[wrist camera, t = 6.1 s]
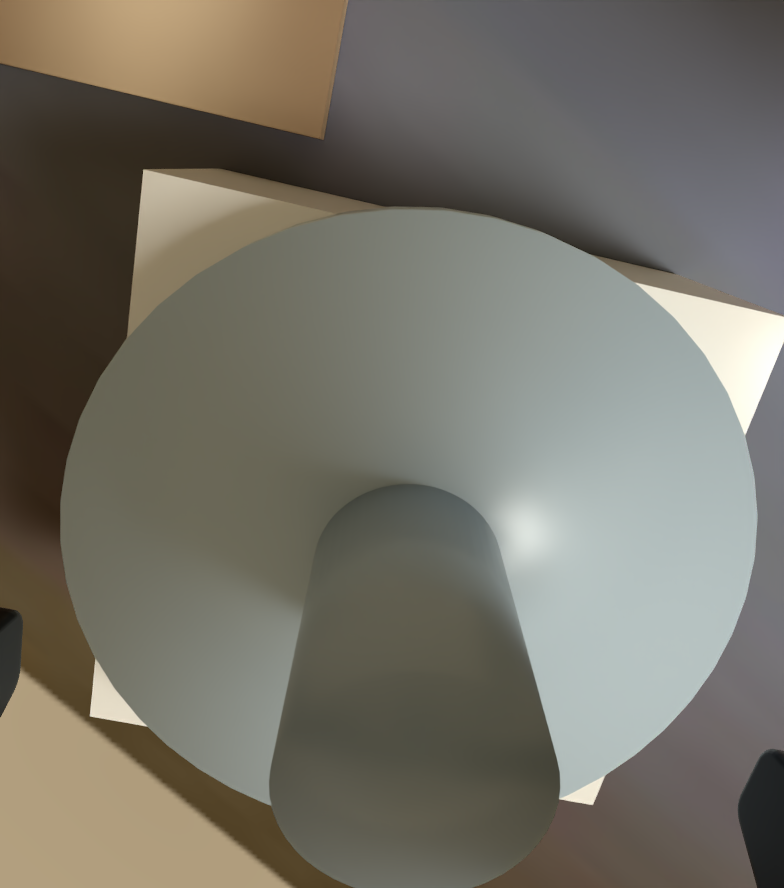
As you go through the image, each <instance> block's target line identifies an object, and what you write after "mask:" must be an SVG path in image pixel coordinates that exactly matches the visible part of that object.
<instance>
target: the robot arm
mask: <svg viewBox="0 0 784 888" xmlns="http://www.w3.org/2000/svg"><path fill="white" fill-rule="evenodd" d="M22 630H23V620H22V616H21V614H20V613H19V612H18V611H16V610H12V609H7V608H1V607H0V717H1V715H2V713H3V712H4V710H5V708H6V706H7V703H8V702H9V700H10V698H11V696H12V694H13V692H14V690H15V688H16V685H17V682H18V678H19V674H20V666H21V648H22ZM738 817H739V822H740V826H741V830H742V833H743V837H744V841H745V844H746V848H747V851H748V855H749V859H750V862H751V866H752V870H753V873H754V877H755V880H756V884H757V888H784V751H781V750H776V749H770V750H766V751H765V752H764V753H762V754H761V756H760V757H759V759H758V761H757V763H756V765H755V767H754V769H753V771H752V773H751V775H750V777H749V779H748V781H747V783H746V786H745V788H744V790H743V792H742V794H741V796H740V798H739V803H738Z"/></svg>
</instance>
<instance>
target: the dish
mask: <svg viewBox="0 0 784 888" xmlns="http://www.w3.org/2000/svg"><path fill="white" fill-rule="evenodd" d="M383 207H384V206H379V205H375V204H371V203H366V202H362V201H358V200H353V199H349V198H345V197H341V196H336V195H332V194H328V193H323V192H319V191H315V190H310V189H306V188H302V187H297V186H293V185H289V184H285V183H280V182H276V181H272V180H267V179H263V178H259V177H254V176H250V175H246V174H241V173H237V172H233V171H228V170H224V169H143V179H142V189H141V200H140V210H139V220H138V230H137V241H136V251H135V261H134V271H133V281H132V292H131V302H130V312H129V322H128V332H127V338H128V337H129V336H130V335H131V334H132V333H133V331H134V330H135V329H136V328H137V327H138V326H139V325H140V324H141V323H142V322H143V321H144V320H145V319H146V318H147V316H148V315H149V314H150V313H151V312H152V311H153V310H154V309H155V308H156V307H157V306H158V305H159V304H160V303H162V302H163V301H164V300H165V299H167V298H168V297H169V296H170V295H172V294H173V293H174V292H175V291H177V290H178V289H179V288H180V287H182V286H183V285H184V284H185V283H187V282H188V281H189V280H190V279H192V278H193V277H194V276H195V275H197V274H198V273H200V272H202V271H204V270H205V269H207V268H209V267H210V266H212V265H214V264H216V263H217V262H219V261H221V260H222V259H224V258H226V257H227V256H229V255H231V254H233V253H234V252H236V251H238V250H239V249H241V248H243V247H245V246H247V245H249V244H251V243H252V242H255V241H257V240H260V239H262V238H264V237H267V236H269V235H272V234H274V233H277V232H279V231H281V230H284V229H286V228H289V227H291V226H294V225H296V224H299V223H303V222H307V221H311V220H315V219H319V218H323V217H326V216H330V215H334V214H338V213H342V212H348V211H357V210H365V209H374V208H383ZM592 256H594V257H596V258H598V259H599V260H601V261H602V262H604V263H605V264H607V265H608V266H610V267H611V268H613V269H614V270H616V271H617V272H619V273H620V274H622V275H624V276H625V277H627V278H628V279H630V280H631V281H633V282H634V283H636V284H637V285H638V286H640V287H641V288H642V289H643V290H644V291H645V292H646V293H647V294H649V295H650V296H651V297H652V298H653V299H654V300H655V301H656V302H657V303H659V304H660V305H661V306H662V307H663V308H664V309H665V310H666V311H668V312H669V313H670V314H671V315H672V316H673V317H674V318H675V319H676V320H677V321H678V323H679V324H680V325H681V326H682V327H683V329H684V330H685V331H686V332H687V334H688V335H689V336H690V337H691V338H692V340H693V341H694V342H695V343H696V344H697V346H698V347H699V348H700V349H701V350H702V352H703V353H704V354H705V356H706V358H707V359H708V361H709V363H710V364H711V366H712V368H713V369H714V371H715V373H716V374H717V376H718V378H719V379H720V381H721V383H722V384H723V386H724V388H725V389H726V391H727V393H728V395H729V397H730V400H731V402H732V405H733V407H734V410H735V412H736V415H737V417H738V420H739V422H740V424H741V427H742V429H743V432H744V435H745V434H746V432H747V430H748V427H749V425H750V422H751V420H752V417H753V415H754V413H755V410H756V408H757V405H758V403H759V400H760V398H761V396H762V393H763V391H764V388H765V386H766V383H767V381H768V379H769V376H770V374H771V371H772V369H773V366H774V364H775V362H776V359H777V357H778V354H779V352H780V349H781V347H782V345H783V342H784V315H781V314H779V313H776V312H774V311H771V310H768V309H766V308H763V307H761V306H758V305H755V304H753V303H750V302H747V301H745V300H742V299H740V298H737V297H734V296H732V295H729V294H727V293H724V292H721V291H719V290H716V289H714V288H711V287H708V286H706V285H703V284H700V283H698V282H695V281H693V280H690V279H687V278H685V277H682V276H680V275H677V274H672V273H668V272H664V271H659V270H655V269H651V268H646V267H642V266H638V265H634V264H629V263H625V262H621V261H616V260H612V259H608V258H603V257H599V256H595V255H592ZM90 716H91V717H97V718H103V719H108V720H114V721H120V722H125V723H131V724H137V725H142V726H147V725H146V724H144V723H143V722H142V721H141V720H140V719H139V718H138V716H137V715H136V714H135V713H134V712H133V710H132V709H131V708H130V707H129V705H128V704H127V703H126V702H125V701H124V699H123V698H122V697H121V696H120V694H119V693H118V692H117V691H116V690H115V688H114V687H113V685H112V684H111V682H110V680H109V679H108V677H107V676H106V674H105V672H104V671H103V669H102V668H101V666H100V664H99V663H98V661H97V660H95V670H94V680H93V690H92V700H91V711H90ZM604 777H605V776H603V777H601V778H600V779H598V780H596V781H594V782H592V783H590V784H588V785H586V786H584V787H583V788H581V789H579V790H577V791H575V792H573V793H571V794H569V795H567V796H565V797H562V798H560V799H562V800H567V801H573V802H579V803H584V804H590V805H593V803H594V801H595V798H596V796H597V794H598V791H599V789H600V786H601V784H602V781H603V779H604Z"/></svg>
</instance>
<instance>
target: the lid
mask: <svg viewBox="0 0 784 888" xmlns="http://www.w3.org/2000/svg"><path fill="white" fill-rule="evenodd" d="M756 531H757V505H756V492H755V480H754V473H753V468H752V464H751V460H750V456H749V452H748V447H747V443H746V439H745V435H744V432H743V429H742V427H741V424H740V422H739V420H738V417H737V415H736V412H735V410H734V407H733V405H732V402H731V400H730V397H729V395H728V393H727V391H726V389H725V388H724V386H723V384H722V383H721V381H720V379H719V378H718V376H717V374H716V373H715V371H714V369H713V368H712V366H711V364H710V363H709V361H708V359H707V358H706V356H705V354H704V353H703V352H702V350H701V349H700V348H699V347H698V346H697V344H696V343H695V342H694V341H693V340H692V338H691V337H690V336H689V335H688V334H687V332H686V331H685V330H684V329H683V327H682V326H681V325H680V324H679V323H678V321H677V320H676V319H675V318H674V317H673V316H672V315H671V314H670V313H669V312H668V311H666V310H665V309H664V308H663V307H662V306H661V305H660V304H659V303H657V302H656V301H655V300H654V299H653V298H652V297H651V296H650V295H649V294H647V293H646V292H645V291H644V290H643V289H642V288H641V287H640V286H638V285H637V284H636V283H634V282H633V281H631V280H630V279H628V278H627V277H625V276H624V275H622V274H620V273H619V272H617V271H616V270H614V269H613V268H611V267H610V266H608V265H607V264H605V263H604V262H602V261H601V260H599V259H598V258H596V257H594V256H592V255H590V254H588V253H586V252H584V251H581V250H579V249H577V248H575V247H573V246H571V245H569V244H567V243H565V242H562V241H560V240H558V239H556V238H554V237H552V236H550V235H547V234H545V233H543V232H541V231H538V230H536V229H533V228H530V227H526V226H523V225H520V224H517V223H514V222H510V221H507V220H504V219H501V218H497V217H494V216H491V215H485V214H479V213H473V212H467V211H461V210H455V209H448V208H442V207H400V206H392V207H383V208H374V209H365V210H357V211H348V212H342V213H338V214H334V215H330V216H326V217H323V218H319V219H315V220H311V221H307V222H303V223H299V224H296V225H294V226H291V227H289V228H286V229H284V230H281V231H279V232H277V233H274V234H272V235H269V236H267V237H264V238H262V239H260V240H257V241H255V242H252V243H251V244H249V245H247V246H245V247H243V248H241V249H239V250H238V251H236V252H234V253H233V254H231V255H229V256H227V257H226V258H224V259H222V260H221V261H219V262H217V263H216V264H214V265H212V266H210V267H209V268H207V269H205V270H204V271H202V272H200V273H198V274H197V275H195V276H194V277H193V278H192V279H190V280H189V281H188V282H187V283H185V284H184V285H183V286H182V287H180V288H179V289H178V290H177V291H175V292H174V293H173V294H172V295H170V296H169V297H168V298H167V299H165V300H164V301H163V302H162V303H160V304H159V305H158V306H157V307H156V308H155V309H154V310H153V311H152V312H151V313H150V314H149V315H148V316H147V318H146V319H145V320H144V321H143V322H142V323H141V324H140V325H139V326H138V327H137V328H136V329H135V330H134V331H133V333H132V334H131V335H130V336H129V337H128V338H127V339H126V340H125V341H124V343H123V344H122V346H121V347H120V349H119V350H118V352H117V353H116V354H115V356H114V357H113V359H112V360H111V362H110V363H109V365H108V366H107V368H106V369H105V370H104V372H103V373H102V375H101V376H100V378H99V379H98V381H97V384H96V386H95V388H94V390H93V392H92V394H91V396H90V398H89V400H88V402H87V404H86V406H85V408H84V410H83V412H82V414H81V416H80V419H79V422H78V425H77V428H76V431H75V435H74V438H73V441H72V444H71V448H70V451H69V454H68V457H67V461H66V468H65V474H64V481H63V488H62V494H61V501H60V543H61V549H62V556H63V563H64V569H65V576H66V583H67V586H68V589H69V593H70V596H71V599H72V603H73V606H74V609H75V613H76V616H77V619H78V622H79V624H80V626H81V628H82V631H83V633H84V635H85V637H86V639H87V641H88V644H89V646H90V648H91V650H92V652H93V655H94V657H95V658H96V660H97V661H98V663H99V664H100V666H101V668H102V669H103V671H104V672H105V674H106V676H107V677H108V679H109V680H110V682H111V684H112V685H113V687H114V688H115V690H116V691H117V692H118V693H119V694H120V696H121V697H122V698H123V699H124V701H125V702H126V703H127V704H128V705H129V707H130V708H131V709H132V710H133V712H134V713H135V714H136V715H137V716H138V718H139V719H140V720H141V721H142V722H143V723H144V724H146V725H147V726H148V727H149V728H150V729H151V730H152V731H153V732H154V733H155V734H156V735H157V736H158V737H159V738H160V739H161V740H162V741H163V742H164V743H165V744H166V745H168V746H169V747H170V748H172V749H173V750H174V751H176V752H177V753H178V754H180V755H181V756H182V757H184V758H185V759H186V760H188V761H189V762H190V763H192V764H193V765H194V766H195V767H197V768H198V769H200V770H202V771H203V772H205V773H207V774H208V775H210V776H212V777H213V778H215V779H217V780H218V781H220V782H222V783H224V784H225V785H227V786H229V787H230V788H232V789H234V790H237V791H239V792H241V793H243V794H245V795H248V796H250V797H252V798H254V799H256V800H259V801H261V802H263V803H265V804H268V805H271V806H272V810H273V813H274V816H275V818H276V821H277V823H278V825H279V827H280V829H281V831H282V832H283V834H284V836H285V838H286V839H287V840H288V841H289V843H290V844H291V845H292V846H293V848H294V849H295V850H296V851H297V852H298V853H299V854H300V855H301V856H302V857H303V858H304V859H305V860H306V861H307V862H309V863H310V864H311V865H313V866H314V867H315V868H317V869H318V870H319V871H321V872H323V873H325V874H326V875H328V876H330V877H331V878H333V879H335V880H337V881H340V882H342V883H344V884H346V885H349V886H351V887H355V888H473V887H476V886H478V885H481V884H484V883H486V882H488V881H490V880H492V879H494V878H496V877H498V876H500V875H502V874H503V873H505V872H506V871H508V870H509V869H511V868H512V867H514V866H515V865H517V864H518V863H519V862H520V861H521V860H523V859H524V858H525V857H526V856H527V855H528V854H529V853H530V852H531V851H532V850H533V849H534V848H535V847H536V846H537V844H538V843H539V842H540V841H541V839H542V838H543V836H544V835H545V833H546V832H547V830H548V828H549V826H550V824H551V822H552V820H553V818H554V816H555V812H556V809H557V806H558V802H559V799H560V798H562V797H565V796H567V795H569V794H571V793H573V792H575V791H577V790H579V789H581V788H583V787H584V786H586V785H588V784H590V783H592V782H594V781H596V780H598V779H600V778H601V777H603V776H605V775H606V774H608V773H609V772H611V771H612V770H614V769H615V768H617V767H618V766H619V765H621V764H622V763H624V762H625V761H627V760H628V759H630V758H631V757H633V756H634V755H636V754H637V753H638V752H639V751H640V750H641V749H643V748H644V747H645V746H646V745H647V744H648V743H650V742H651V741H652V740H653V739H654V738H655V737H657V736H658V735H659V734H660V733H661V732H662V731H664V730H665V729H666V727H667V726H668V725H669V724H670V723H671V722H672V721H673V720H674V719H675V718H676V717H677V716H678V714H679V713H680V712H681V711H682V710H683V709H684V708H685V707H686V706H687V705H688V704H689V702H690V701H691V700H692V699H693V697H694V696H695V694H696V693H697V692H698V690H699V689H700V687H701V686H702V685H703V683H704V682H705V680H706V679H707V678H708V676H709V675H710V673H711V672H712V671H713V669H714V667H715V666H716V664H717V662H718V660H719V658H720V656H721V654H722V653H723V651H724V649H725V647H726V645H727V643H728V641H729V639H730V638H731V636H732V634H733V631H734V628H735V626H736V623H737V620H738V617H739V615H740V612H741V609H742V607H743V604H744V601H745V599H746V595H747V591H748V586H749V581H750V577H751V572H752V568H753V563H754V559H755V546H756Z"/></svg>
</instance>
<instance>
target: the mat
mask: <svg viewBox="0 0 784 888" xmlns="http://www.w3.org/2000/svg"><path fill="white" fill-rule="evenodd" d="M347 4H348V0H0V63H1V64H5V65H9V66H13V67H17V68H22V69H26V70H30V71H34V72H38V73H43V74H47V75H51V76H55V77H60V78H64V79H68V80H72V81H76V82H81V83H85V84H89V85H93V86H97V87H102V88H106V89H110V90H114V91H119V92H123V93H127V94H131V95H135V96H140V97H144V98H148V99H152V100H157V101H161V102H165V103H169V104H173V105H178V106H182V107H186V108H190V109H194V110H199V111H203V112H207V113H211V114H216V115H220V116H224V117H228V118H232V119H237V120H241V121H245V122H249V123H253V124H258V125H262V126H266V127H270V128H275V129H279V130H283V131H287V132H291V133H296V134H300V135H304V136H308V137H312V138H317V139H321V140H324V135H325V130H326V124H327V118H328V112H329V107H330V101H331V95H332V90H333V84H334V78H335V72H336V67H337V61H338V55H339V50H340V44H341V38H342V32H343V27H344V21H345V15H346V10H347Z"/></svg>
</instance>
